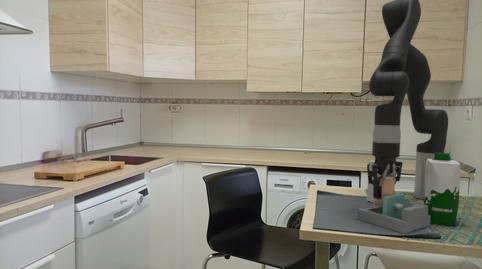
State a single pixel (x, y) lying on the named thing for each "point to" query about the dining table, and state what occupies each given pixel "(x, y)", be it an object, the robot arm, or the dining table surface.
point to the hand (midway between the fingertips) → (383, 197)
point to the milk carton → (442, 189)
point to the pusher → (393, 205)
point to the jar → (385, 190)
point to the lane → (407, 223)
